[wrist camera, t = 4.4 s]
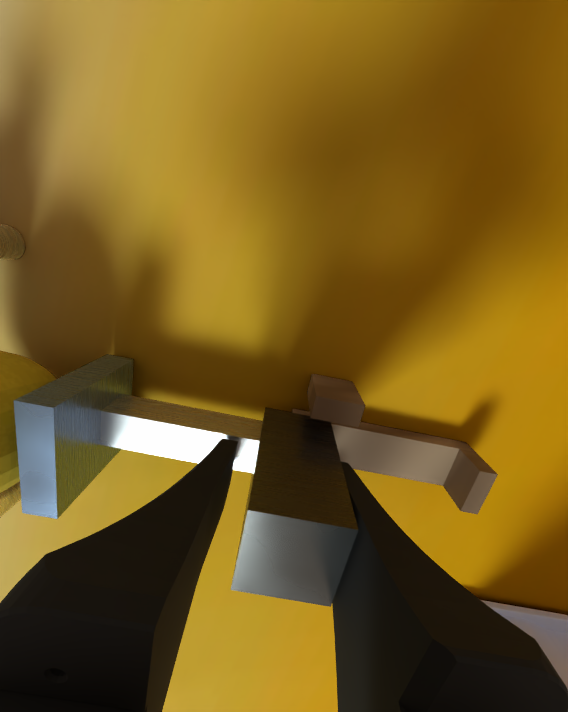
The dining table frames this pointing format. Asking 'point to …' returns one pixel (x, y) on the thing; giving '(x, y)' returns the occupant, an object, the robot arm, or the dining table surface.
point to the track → (398, 446)
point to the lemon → (3, 385)
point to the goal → (10, 246)
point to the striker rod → (192, 443)
